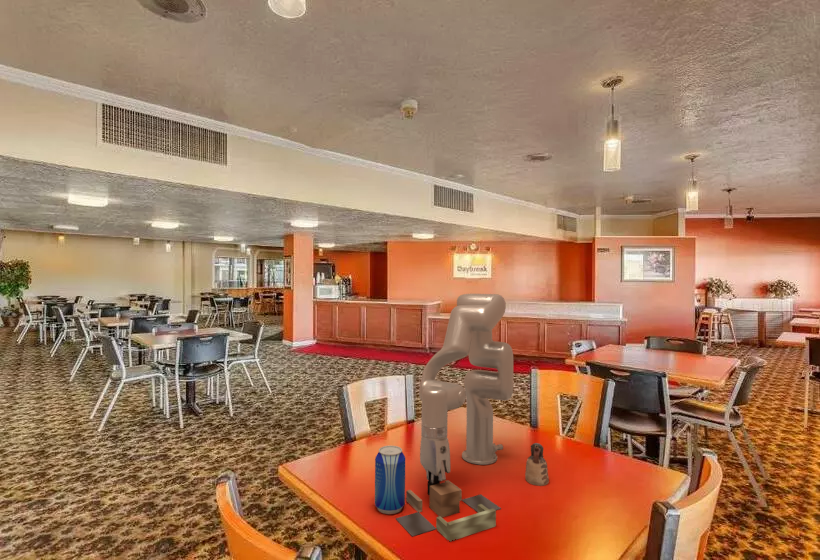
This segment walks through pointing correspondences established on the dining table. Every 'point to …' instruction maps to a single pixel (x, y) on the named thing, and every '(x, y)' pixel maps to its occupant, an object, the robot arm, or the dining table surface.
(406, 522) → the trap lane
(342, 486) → the dining table surface
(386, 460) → the beer can
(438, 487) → the walnut block
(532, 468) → the figurine
